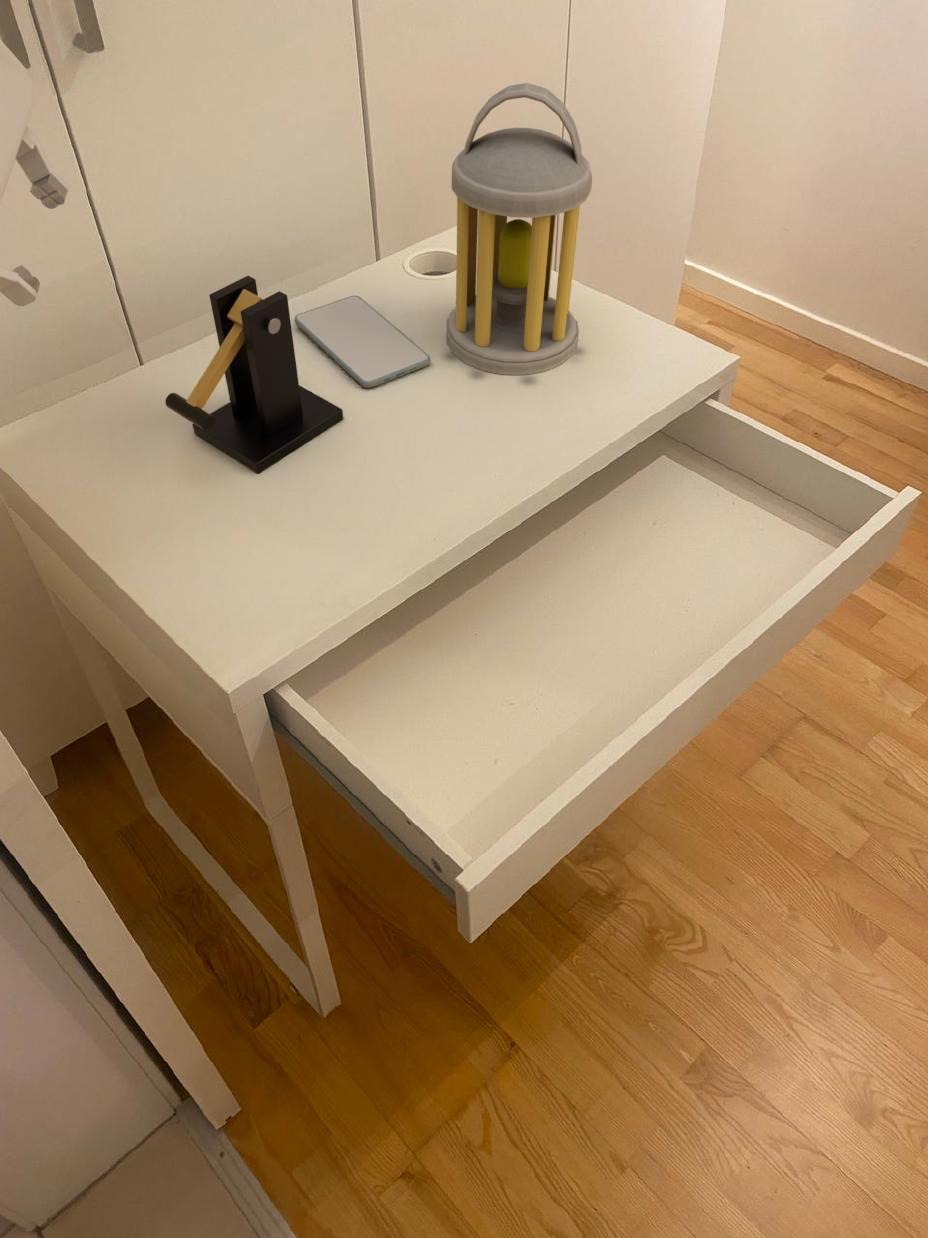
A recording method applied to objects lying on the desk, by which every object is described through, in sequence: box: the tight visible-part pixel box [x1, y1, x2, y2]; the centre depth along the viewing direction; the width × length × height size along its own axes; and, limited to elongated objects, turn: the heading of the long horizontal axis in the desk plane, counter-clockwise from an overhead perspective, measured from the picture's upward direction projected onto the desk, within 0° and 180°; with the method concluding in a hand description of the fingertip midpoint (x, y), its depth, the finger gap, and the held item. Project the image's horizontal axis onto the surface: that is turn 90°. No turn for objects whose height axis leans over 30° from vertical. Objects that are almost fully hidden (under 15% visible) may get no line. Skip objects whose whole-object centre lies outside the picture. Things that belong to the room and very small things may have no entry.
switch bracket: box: [191, 275, 344, 474], centre depth 87 cm, size 11×9×14 cm
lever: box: [164, 289, 264, 431], centre depth 83 cm, size 12×5×2 cm
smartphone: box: [294, 295, 431, 389], centre depth 101 cm, size 8×1×15 cm
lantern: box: [445, 82, 593, 376], centre depth 94 cm, size 14×14×25 cm
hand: (46, 246), depth 66 cm, fingers open, 8 cm apart
